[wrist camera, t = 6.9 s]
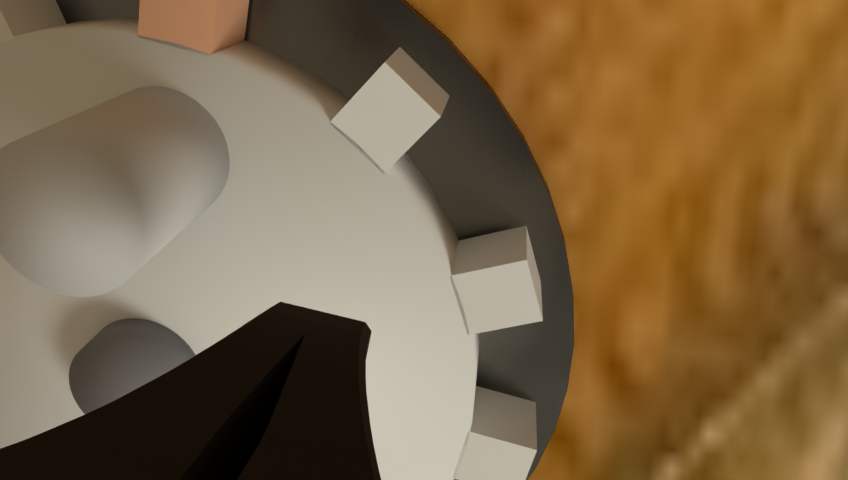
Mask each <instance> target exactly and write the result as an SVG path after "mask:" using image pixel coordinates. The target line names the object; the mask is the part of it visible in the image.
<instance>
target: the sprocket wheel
mask: <svg viewBox="0 0 848 480" xmlns="http://www.w3.org/2000/svg"><path fill="white" fill-rule="evenodd" d="M248 7H249V0H140V6H139V19H132V18H114V19H103V20H91V21H80V22H74V23H70V24H66V22H65V19H64V17H63V15H62V13H61V11H60V9H59V6H58V4H57V2H56V0H0V449H1V448H3V447H6V446H9V445H12V444H15V443H18V442H20V441H23V440H25V439H28V438H31V437H33V436H36V435H38V434H41V433H43V432H45V431H48V430H50V429H52V428H55V427H57V426H59V425H62V424H64V423H66V422H69V421H71V420H73V419H76V418H78V417H80V416H83V415H85V414H87V413H89V412H91V411H93V410H96V409H98V408H100V407H102V406H104V405H106V404H108V403H110V402H112V401H114V400H116V399H118V398H120V397H122V396H124V395H126V394H128V393H130V392H131V391H133V390H135V389H137V388H139V387H141V386H143V385H144V384H146V383H148V382H150V381H152V380H154V379H156V378H158V377H159V376H161V375H163V374H165V373H167V372H168V371H170V370H172V369H174V368H175V367H177V366H179V365H180V364H182V363H184V362H185V361H187V360H189V359H190V358H192V357H194V356H195V355H197V354H198V353H200V352H202V351H203V350H205V349H207V348H208V347H210V346H212V345H213V344H215V343H216V342H218V341H220V340H221V339H223V338H224V337H226V336H227V335H229V334H230V333H232V332H234V331H235V330H237V329H238V328H240V327H241V326H243V325H244V324H246V323H247V322H249V321H250V320H252V319H253V318H255V317H256V316H258V315H259V314H261V313H263V312H264V311H266V310H267V309H269V308H270V307H272V306H274V305H276V304H277V303H279V302H284V303H288V304H293V305H297V306H301V307H305V308H309V309H313V310H317V311H322V312H326V313H330V314H334V315H338V316H342V317H347V318H351V319H355V320H359V321H363V322H366V324H367V325H368V327H369V328H370V330H371V331H372V332H371V337H370V342H369V347H368V352H367V357H366V392H367V401H368V410H369V418H370V426H371V432H372V438H373V444H374V449H375V454H376V459H377V463H378V468H379V473H380V477H381V480H454V479H457V480H526V477H527V475H528V472H529V470H530V467H531V465H532V462H533V459H534V457H535V454H536V452H537V429H536V402H533V401H530V400H526V399H522V398H519V397H515V396H511V395H508V394H504V393H500V392H497V391H493V390H489V389H486V388H482V387H478V386H476V379H477V367H478V355H479V343H480V341H479V333H482V332H487V331H492V330H498V329H503V328H508V327H513V326H519V325H524V324H529V323H534V322H540V321H543V314H542V295H541V281H540V277H539V273H538V269H537V265H536V261H535V257H534V253H533V250H532V246H531V242H530V238H529V234H528V230H527V226H522V227H518V228H513V229H509V230H504V231H500V232H495V233H491V234H486V235H482V236H477V237H472V238H468V239H463V240H459V241H458V238H457V236H456V233H455V230H454V228H453V226H452V225H451V223H450V221H449V219H448V217H447V215H446V213H445V212H444V210H443V208H442V206H441V204H440V202H439V200H438V199H437V197H436V195H435V193H434V191H433V190H432V189H431V187H430V186H429V184H428V183H427V182H426V180H425V179H424V177H423V176H422V175H421V173H420V172H419V171H418V169H417V168H416V166H415V165H414V164H413V162H412V161H411V159H410V158H409V157H408V155H407V154H406V153H405V152H406V151H407V150H408V149H409V148H410V147H411V146H412V145H413V144H414V143H415V142H416V141H417V140H418V139H419V138H420V137H421V136H422V135H423V134H424V133H425V132H426V131H427V130H428V129H429V128H430V127H431V126H432V125H433V124H434V123H435V122H436V121H437V120H438V119H439V118H440V117H441V115H442V113H443V111H444V108H445V106H446V103H447V101H448V99H449V95H448V94H447V93H446V92H445V91H444V90H443V89H442V88H441V87H440V86H439V85H438V84H437V83H436V82H435V81H434V80H433V79H432V78H431V77H430V76H429V75H428V74H427V73H426V72H425V71H424V70H423V69H422V68H421V67H420V66H419V65H418V64H417V63H416V62H415V61H414V60H413V59H412V58H411V57H410V56H409V55H408V54H407V53H406V52H405V51H404V50H403V49H402V48H401V47H399V48H398V49H397V50H396V51H395V52H394V53H393V54H392V55H391V56H390V57H389V58H388V59H387V60H386V61H385V62H384V63H383V65H382V66H381V67H380V68H379V69H378V70H377V71H376V72H375V73H374V74H373V75H372V77H371V78H370V79H369V80H368V81H367V82H366V83H365V84H364V85H363V86H362V87H361V89H360V90H359V91H358V92H357V93H356V94H355V95H354V96H353V97H352V98H351V99H348V98H347V97H346V96H345V95H344V94H342V93H341V92H340V91H338V90H337V89H335V88H334V87H332V86H331V85H329V84H328V83H326V82H324V81H323V80H321V79H320V78H318V77H317V76H315V75H314V74H312V73H311V72H309V71H308V70H306V69H304V68H303V67H301V66H300V65H298V64H296V63H294V62H292V61H289V60H287V59H285V58H283V57H281V56H279V55H277V54H275V53H273V52H271V51H269V50H267V49H265V48H263V47H261V46H259V45H256V44H253V43H250V42H247V41H244V39H245V31H246V23H247V15H248Z"/></svg>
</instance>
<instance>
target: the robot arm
mask: <svg viewBox="0 0 848 480" xmlns="http://www.w3.org/2000/svg"><path fill="white" fill-rule="evenodd" d="M371 332H372V331H371V330H370V328H369V327H368V325H367V324H366V322H363V321H359V320H355V319H351V318H347V317H342V316H338V315H334V314H330V313H326V312H322V311H317V310H313V309H309V308H305V307H301V306H297V305H293V304H288V303H284V302H279V303H277V304H276V305H274V306H272V307H270V308H269V309H267V310H266V311H264V312H263V313H261V314H259V315H258V316H256V317H255V318H253V319H252V320H250V321H249V322H247V323H246V324H244V325H243V326H241V327H240V328H238V329H237V330H235V331H234V332H232V333H230V334H229V335H227V336H226V337H224V338H223V339H221V340H220V341H218V342H216V343H215V344H213V345H212V346H210V347H208V348H207V349H205V350H203V351H202V352H200V353H198V354H197V355H195V356H194V357H192V358H190V359H189V360H187V361H185V362H184V363H182V364H180V365H179V366H177V367H175V368H174V369H172V370H170V371H168V372H167V373H165V374H163V375H161V376H159V377H158V378H156V379H154V380H152V381H150V382H148V383H146V384H144V385H143V386H141V387H139V388H137V389H135V390H133V391H131V392H130V393H128V394H126V395H124V396H122V397H120V398H118V399H116V400H114V401H112V402H110V403H108V404H106V405H104V406H102V407H100V408H98V409H96V410H93V411H91V412H89V413H87V414H85V415H83V416H80V417H78V418H76V419H73V420H71V421H69V422H66V423H64V424H62V425H59V426H57V427H55V428H52V429H50V430H48V431H45V432H43V433H41V434H38V435H36V436H33V437H31V438H28V439H25V440H23V441H20V442H18V443H15V444H12V445H9V446H6V447H3V448H1V449H0V480H381V477H380V473H379V468H378V463H377V459H376V454H375V449H374V444H373V438H372V432H371V426H370V418H369V410H368V401H367V392H366V357H367V352H368V347H369V342H370V337H371Z"/></svg>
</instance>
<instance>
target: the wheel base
mask: <svg viewBox="0 0 848 480" xmlns="http://www.w3.org/2000/svg"><path fill="white" fill-rule="evenodd" d="M56 2H57V4H58V6H59V9H60V11H61V13H62V15H63V17H64V19H65V22H66V24H70V23H74V22H80V21H91V20H103V19H114V18H132V19H139V6H140V0H56ZM244 41H247V42H250V43H253V44H256V45H259V46H261V47H263V48H265V49H267V50H269V51H271V52H273V53H275V54H277V55H279V56H281V57H283V58H285V59H287V60H289V61H292V62H294V63H296V64H298V65H300V66H301V67H303V68H304V69H306V70H308V71H309V72H311V73H312V74H314V75H315V76H317V77H318V78H320V79H321V80H323V81H324V82H326V83H328V84H329V85H331V86H332V87H334V88H335V89H337V90H338V91H340V92H341V93H342V94H344V95H345V96H346V97H347V98H348V99H351V98H352V97H353V96H354V95H355V94H356V93H357V92H358V91H359V90H360V89H361V87H362V86H363V85H364V84H365V83H366V82H367V81H368V80H369V79H370V78H371V77H372V75H373V74H374V73H375V72H376V71H377V70H378V69H379V68H380V67H381V66H382V65H383V63H384V62H385V61H386V60H387V59H388V58H389V57H390V56H391V55H392V54H393V53H394V52H395V51H396V50H397V49H398V48H399V47H401V48H402V49H403V50H404V51H405V52H406V53H407V54H408V55H409V56H410V57H411V58H412V59H413V60H414V61H415V62H416V63H417V64H418V65H419V66H420V67H421V68H422V69H423V70H424V71H425V72H426V73H427V74H428V75H429V76H430V77H431V78H432V79H433V80H434V81H435V82H436V83H437V84H438V85H439V86H440V87H441V88H442V89H443V90H444V91H445V92H446V93H447V94H448V95H449V99H448V101H447V103H446V106H445V108H444V111H443V113H442V115H441V117H440V118H439V119H438V120H437V121H436V122H435V123H434V124H433V125H432V126H431V127H430V128H429V129H428V130H427V131H426V132H425V133H424V134H423V135H422V136H421V137H420V138H419V139H418V140H417V141H416V142H415V143H414V144H413V145H412V146H411V147H410V148H409V149H408V150H407V151H406V152H405V153H406V154H407V155H408V157H409V158H410V159H411V161H412V162H413V164H414V165H415V166H416V168H417V169H418V171H419V172H420V173H421V175H422V176H423V177H424V179H425V180H426V182H427V183H428V184H429V186H430V187H431V189H432V190H433V191H434V193H435V195H436V197H437V199H438V200H439V202H440V204H441V206H442V208H443V210H444V212H445V213H446V215H447V217H448V219H449V221H450V223H451V225H452V226H453V228H454V230H455V233H456V236H457V238H458V241H459V240H463V239H468V238H472V237H477V236H482V235H486V234H491V233H495V232H500V231H504V230H509V229H513V228H518V227H522V226H527V230H528V234H529V238H530V242H531V246H532V250H533V253H534V257H535V261H536V265H537V269H538V273H539V277H540V281H541V295H542V314H543V321H540V322H534V323H529V324H524V325H519V326H513V327H508V328H503V329H498V330H492V331H487V332H482V333H479V341H480V343H479V355H478V367H477V379H476V386H478V387H482V388H486V389H489V390H493V391H497V392H500V393H504V394H508V395H511V396H515V397H519V398H522V399H526V400H530V401H533V402H536V429H537V452H536V454H535V457H534V459H533V462H532V465H531V467H530V470H529V472H528V475H527V477H526V480H528V478H529V477H530V475H531V474H532V472H533V471H534V470H535V468H536V467H537V465H538V463H539V461H540V459H541V457H542V455H543V452H544V450H545V448H546V446H547V444H548V442H549V440H550V438H551V436H552V434H553V432H554V430H555V427H556V424H557V421H558V417H559V414H560V411H561V408H562V405H563V401H564V398H565V395H566V392H567V388H568V381H569V374H570V367H571V360H572V353H573V346H574V316H573V291H572V284H571V278H570V271H569V265H568V259H567V253H566V247H565V241H564V236H563V233H562V229H561V226H560V223H559V220H558V217H557V214H556V210H555V207H554V204H553V201H552V198H551V195H550V191H549V188H548V186H547V184H546V181H545V179H544V177H543V175H542V173H541V171H540V169H539V167H538V165H537V163H536V161H535V159H534V156H533V154H532V152H531V150H530V148H529V146H528V144H527V142H526V140H525V138H524V136H523V134H522V133H521V131H520V130H519V128H518V127H517V125H516V124H515V122H514V121H513V119H512V118H511V116H510V115H509V113H508V112H507V110H506V108H505V107H504V105H503V104H502V102H501V101H500V99H499V98H498V96H497V95H496V93H495V92H494V90H493V89H492V87H491V86H490V85H489V84H488V83H487V82H486V80H485V79H484V78H483V77H482V76H481V75H480V74H479V72H478V71H477V70H476V69H475V68H474V67H473V65H472V64H471V63H470V62H469V61H468V60H467V59H466V57H465V56H464V55H463V54H462V53H461V52H460V51H459V49H458V48H457V47H456V46H455V45H454V44H453V42H452V41H450V40H449V39H448V38H447V37H446V36H445V35H444V34H442V33H441V32H440V31H439V30H438V29H437V28H436V27H435V26H433V25H432V24H431V23H430V22H429V21H428V20H427V19H426V18H424V17H423V16H422V15H421V14H420V13H419V12H418V11H417V10H415V9H414V8H413V7H412V6H411V5H410V4H409V3H408V2H406V1H405V0H249V7H248V15H247V23H246V31H245V39H244ZM454 480H457V479H454Z"/></svg>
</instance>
